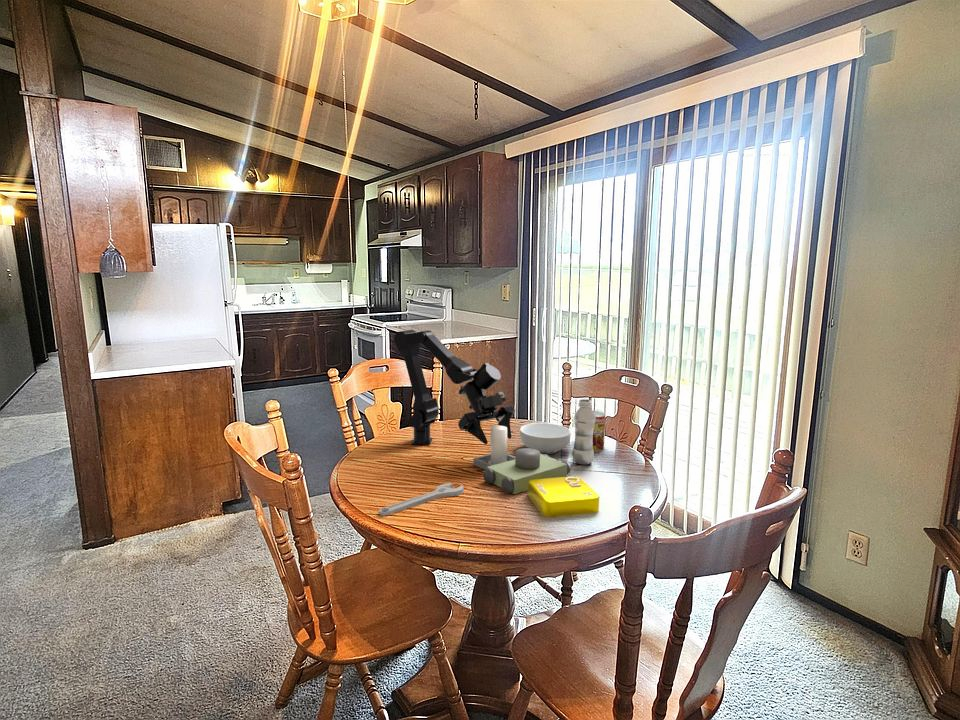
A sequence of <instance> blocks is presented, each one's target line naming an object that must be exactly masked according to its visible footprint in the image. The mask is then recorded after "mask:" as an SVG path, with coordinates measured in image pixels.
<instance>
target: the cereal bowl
mask: <svg viewBox="0 0 960 720" xmlns="http://www.w3.org/2000/svg"><path fill="white" fill-rule="evenodd" d="M519 438H520V441H521V443H522V444H523V445H524V446H525V447H526V448H531V449H536V450H538V451H539V452H540V454H543V453H549V454H554V453H556V452H558V451H561V450H563V449H565V448H566V447H567V446H568V444H570V440H571V430H570V429H569V428H568V427H566V426H563V425H559V424H555V423H548V422H547V423H546V422H532V423H528V424H527V423H526V424H524V425H522V426H521V427H520V429H519ZM555 451H556V452H555ZM553 452H554V453H553Z"/></svg>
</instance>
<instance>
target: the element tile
mask: <svg viewBox="0 0 960 720" xmlns="http://www.w3.org/2000/svg"><path fill="white" fill-rule="evenodd" d="M527 497H528V498H529V499H530V500H531V502H532V503H533V505H534V506H535V508H536V509H537V510H538V511H539V513H540V514H541V515H542V516H543V517H546V518H556V517H557V518H559V517H567V516H577V515H586V514H587V515H588V514H595V513H598V512H599V511H600V495H599V494H598V493H597V492H596V491H595V490H594V489H593V487H591V486H590V485H589V484H588V483H586V482H585V480H583V479H582V478H581V477H580V476H577V475H573V476H572V475H571V476H567V477H557V478H545V479H533V480H530V481H529V482H528V490H527Z"/></svg>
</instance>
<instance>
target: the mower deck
mask: <svg viewBox="0 0 960 720" xmlns="http://www.w3.org/2000/svg"><path fill="white" fill-rule="evenodd" d="M514 452H515V454H514V455H512V454H509V453H507V462H504V463H500V464H496V465H490V464H488V462H489V461H490V460H491V453H488V454H484V455H481V456H477V457H474V458H473V465H474V466H476V467H479V468H480V469H483V470H484V471H483V479H484V481H485V483H486V484H488V485H490V484H493V485H495V486H496V487H499V488H501V489H502V491H503V492H504V493H505V494H510V493H511V494H512V495H517V494H519V493H523V492H527V491H528V482H529V481H530V480H533V479H545V478H557V477H568V475H570V472H571V468H570V465H569V463H568V462H567V461H565V460H564V461H559V460H557V459H556V458H555V459H554V458H552V457H550V456H549V454H543V453H540V452H539V451H538V450H536V449H531V448H528V447H524V448H523V447H522V448H518V449H516V450H515V451H514Z"/></svg>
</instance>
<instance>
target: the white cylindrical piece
mask: <svg viewBox="0 0 960 720" xmlns="http://www.w3.org/2000/svg"><path fill="white" fill-rule="evenodd" d="M490 454H491V460H490V461H489V462H487V463H488V464H490V465H496V464H500V463H504V462H507V454H508V437H507V427H505V426H499V425H492V426H491V427H490Z"/></svg>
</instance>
